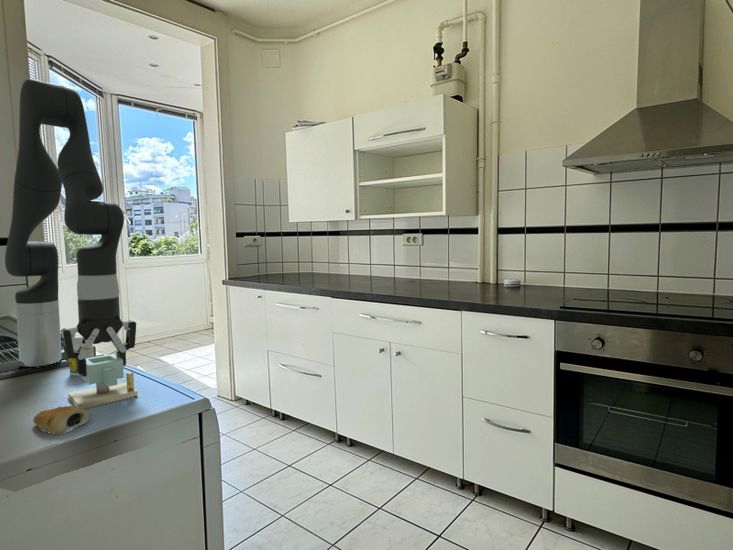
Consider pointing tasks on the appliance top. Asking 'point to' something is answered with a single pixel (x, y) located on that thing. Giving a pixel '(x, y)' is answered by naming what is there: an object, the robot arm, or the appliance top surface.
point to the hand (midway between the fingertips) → (102, 371)
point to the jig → (100, 395)
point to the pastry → (61, 419)
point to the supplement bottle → (76, 343)
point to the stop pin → (130, 381)
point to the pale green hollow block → (104, 369)
